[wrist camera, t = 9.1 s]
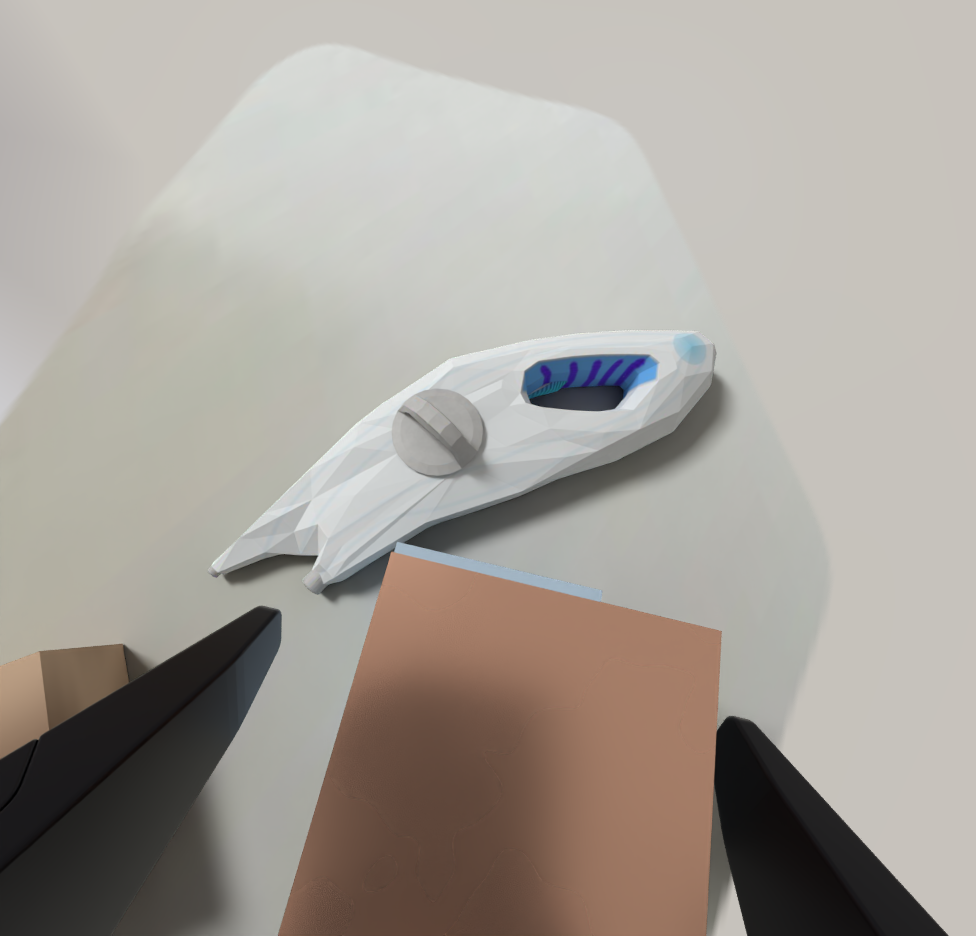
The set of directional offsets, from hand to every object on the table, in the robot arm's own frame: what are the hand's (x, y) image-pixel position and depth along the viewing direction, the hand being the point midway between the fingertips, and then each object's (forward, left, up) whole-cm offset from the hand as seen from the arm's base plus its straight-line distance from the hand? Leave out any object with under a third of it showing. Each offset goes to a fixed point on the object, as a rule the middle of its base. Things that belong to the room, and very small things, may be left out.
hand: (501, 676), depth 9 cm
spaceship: (+7, -2, -9) cm, 12 cm away
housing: (-1, 0, -5) cm, 6 cm away
